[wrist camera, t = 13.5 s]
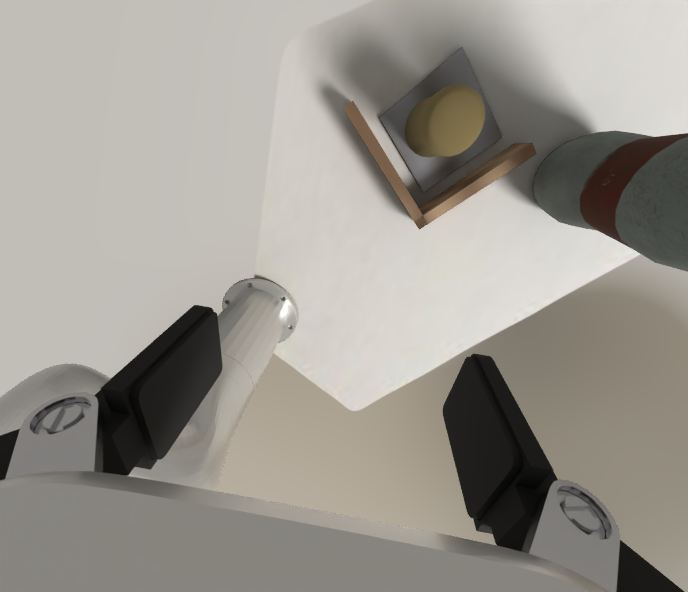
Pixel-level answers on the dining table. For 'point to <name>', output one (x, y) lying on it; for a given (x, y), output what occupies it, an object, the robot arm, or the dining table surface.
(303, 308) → the dining table surface
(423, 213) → the corner arena
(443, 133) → the cork
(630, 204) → the bottle
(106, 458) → the robot arm
